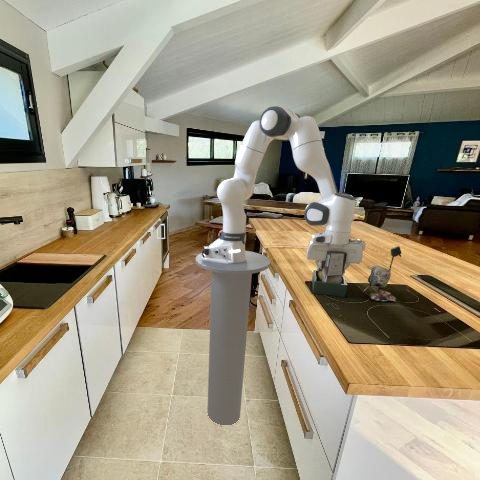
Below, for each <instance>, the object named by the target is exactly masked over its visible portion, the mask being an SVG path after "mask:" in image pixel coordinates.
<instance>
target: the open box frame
mask: <svg viewBox="0 0 480 480" xmlns="http://www.w3.org/2000/svg"><path fill="white" fill-rule="evenodd" d="M317 276H318V271H317V269H316V270H315V269H313V272H312V279H311V285H312V294H314V295H315V294H316V295H323V296H332V297H341V298H345V297H346V293H347V289H348V283H347V280H346V277H345V275H344V274H343V277H342V282H341V284H339V283H329V282H320V281H317Z"/></svg>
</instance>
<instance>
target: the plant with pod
mask: <svg viewBox="0 0 480 480" xmlns="http://www.w3.org/2000/svg"><path fill="white" fill-rule="evenodd" d="M390 255H391V261H390V264H389V268H387V267H382V266H379V265H375V266H373V267H372V268H371V271H370V274H369V276H368V278H367V282H368V283H369V284H368V285H367V286H366V287H365V289H363V291H362V292H363V293H364V292H367V290H368V289H369V288H370V287H371V286H374V287H377V288H378V292H375V293H374V292H373V293H369V298H370V299H371V300H373V301H378V302H387V301H393V302H397V297H395V296H394V295H392V294H391V292H388V291H387V290H386V289H387V286H388V283H389V281H390V278H391V276H392V275H391V274H392V272H391V269H392V264H393V262H394V259H395V258H396V257H398V256H399V257H400V258H402V250H401V247H400V246H399V245H397V246H395V247H392V248H390ZM383 289H384V291H383Z"/></svg>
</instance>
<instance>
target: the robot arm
mask: <svg viewBox="0 0 480 480" xmlns="http://www.w3.org/2000/svg"><path fill="white" fill-rule="evenodd" d="M243 137H244V138H243V139H242V142H241V144H240V147H239V149H238V152H237V154H236V157H235V161H234V166H235V167H234V173H233V176H232V178H228V179H225V180H224V181H222V182H221V183H219V184H218V187H217V189H216V195H217V198H218V200H219V201H220V204H221V211H222V229H220V230H219V232H218V235H217V236H218V238H217V239H215V240H214V241H212V242H211V243H210V244H209V245H208V246H207V245H206V246H205V245H204V246H203V250H202V251H201V253H202V259H203V260H206V261H212V262H218V263H224V264H233V263H241V262H244V261H246V260H247V259H246V254H245V251H246V243H247V242H246V241H247V232H246V229H247V227H246V225H247V214H246V211H245V208H244V202H245V201H247V200H249V199H250V198H251V197H252V196H253V195H254V193H255V183H256V179H257V174H258V172H259V169H260V166H261V164H262V161H263V160H264V157H265V154H266V152H267V150H268V147H269V145H270V143H271V142H272V141H274V140H275V141H279V142H280V141H281V142H288V141H289V142H290V146H291V147H290V148H291V152H292V158H293V161H294V164H295V166H296V167H297V169H298V170H300V171H301V172H303V173H306V174H307V175H309V176H311V177H312V178H313V179H314V180H315V182H316V183H317V187H318V190H319V193H320V194H319V195H320V197H321V199H320V200H315V201H313V202H309V203H308V204H307V205H306V207H305V209H304V212H303V216H304V217H303V218H304V220H305V222H306V223H307V225H309V226H313V227H321V226H324V227H325V231H320V232H317V233H313V234H312V236H311V240H310V241H309V243H308V245H307V248H306V253H305V258H306V259H307V260H312V261H315V265H316V270H317V271H321V268H322V267H321V266H319V264H320V261H325V260H326V255H327V251H338V252H346V253H347V258H346V263H345V268H344V272H343V274H345V273H346V270H347V269H348V268H349V267H350V266H351V264H352V265H353V264H354V265H360V264H361V263H362V262H363V257H364V255H363V254H364V251H365V249H366V246H367V245H366V241H364V240H363V239H360V238H357V239H356V238H351V232H352V223H353V221H354V218H355V217H354V216H355V212H356V211H355V210H356V199H355V197H354V196H352V195H351V194H348V193H342V192H338V188H337V185H336V181H335V178H334V174H333V170H332V168H331V166H330V165H331V164H330V163H329V161H328V159H327V156H326V152H325V148H324V144H323V139H322V135H321V132H320V129H319V125H318V123H317V121H316V119H315V118H314V117H313V116H310V115H304V116H300V115H299V114H297V112H294V111H292V110H290V109H289V108H284V107H281V106H277V105H275V106H269V107H267V108H266V109H265V110H264V111H263V112H262V114H261V115H260V118H259V119H257V120H254V121H253V122H252V123H251V124H250V126H249V127H248V129H247V131H246V133H245V134H244V136H243Z"/></svg>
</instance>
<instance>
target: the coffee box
mask: <svg viewBox="0 0 480 480" xmlns="http://www.w3.org/2000/svg"><path fill="white" fill-rule="evenodd" d="M346 258H347V253H346V252H338V251H327V255H326V260H325V261H320V262H319V263H318V264H319V266H321V267H322V268H321V271H318V276H317V281H320V282H329V283H339V284H341V282H342V277H343V272H344V268H345V263H346Z"/></svg>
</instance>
